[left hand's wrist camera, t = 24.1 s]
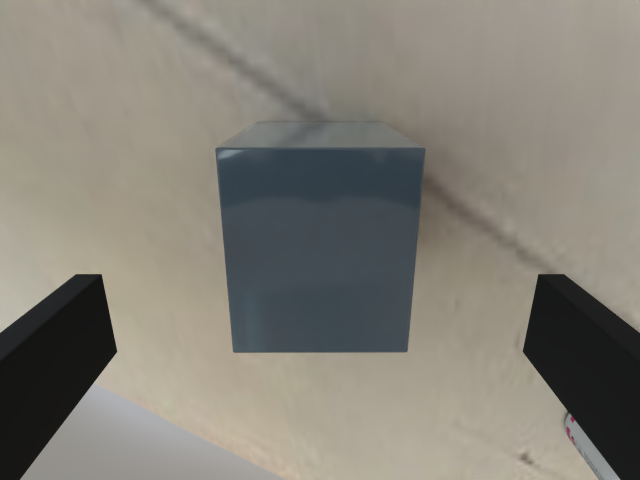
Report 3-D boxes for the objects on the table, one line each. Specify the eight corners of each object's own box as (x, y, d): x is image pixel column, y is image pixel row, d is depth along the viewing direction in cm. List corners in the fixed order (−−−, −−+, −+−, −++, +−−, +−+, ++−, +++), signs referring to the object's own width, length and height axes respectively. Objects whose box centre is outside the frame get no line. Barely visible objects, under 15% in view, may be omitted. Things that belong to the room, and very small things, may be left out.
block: (376, 257, 28) (407, 353, 18) (263, 257, 28) (232, 353, 18) (383, 122, 24) (426, 147, 15) (256, 121, 24) (214, 147, 15)
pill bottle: (615, 443, 33) (708, 556, 25) (556, 441, 33) (630, 554, 25) (633, 395, 31) (740, 500, 23) (571, 393, 31) (657, 497, 23)
